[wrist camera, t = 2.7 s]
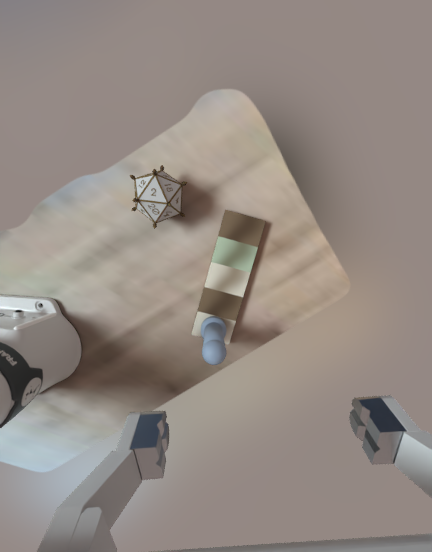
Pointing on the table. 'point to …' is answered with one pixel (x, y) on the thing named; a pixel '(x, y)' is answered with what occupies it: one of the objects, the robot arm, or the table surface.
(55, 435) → the table surface
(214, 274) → the track
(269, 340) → the table surface
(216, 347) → the pawn
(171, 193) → the game die
